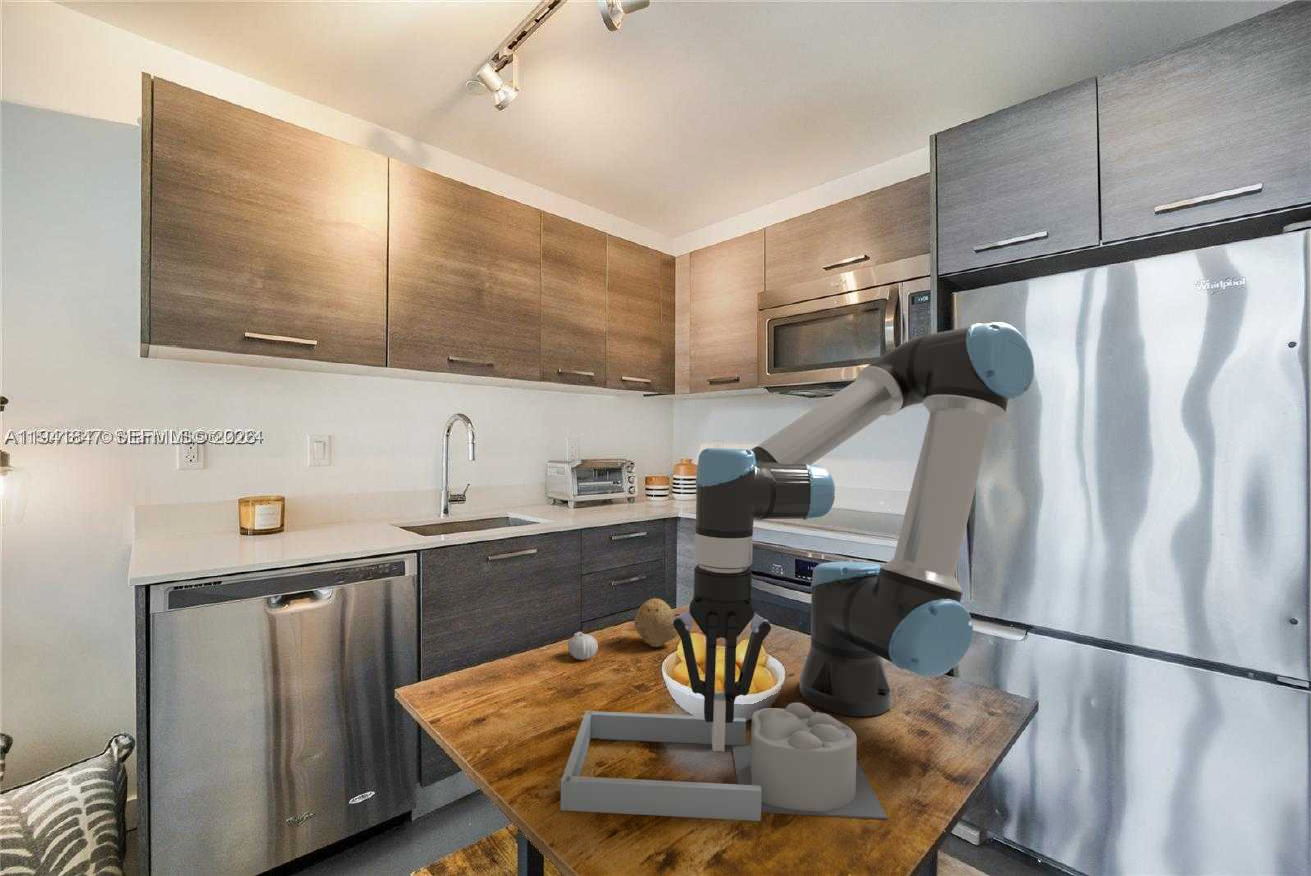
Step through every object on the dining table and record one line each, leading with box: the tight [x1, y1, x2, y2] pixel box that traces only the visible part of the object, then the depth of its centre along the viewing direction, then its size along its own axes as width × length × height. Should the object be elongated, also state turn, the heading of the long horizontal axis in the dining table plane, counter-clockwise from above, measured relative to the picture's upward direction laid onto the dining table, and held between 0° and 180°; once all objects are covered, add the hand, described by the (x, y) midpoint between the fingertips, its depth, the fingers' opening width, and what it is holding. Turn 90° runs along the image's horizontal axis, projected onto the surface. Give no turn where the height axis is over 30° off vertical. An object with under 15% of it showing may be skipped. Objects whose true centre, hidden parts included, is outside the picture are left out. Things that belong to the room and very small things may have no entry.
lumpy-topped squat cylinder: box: [750, 702, 857, 811], centre depth 72 cm, size 10×13×9 cm
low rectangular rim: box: [560, 710, 762, 822], centre depth 75 cm, size 24×17×4 cm
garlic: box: [567, 631, 599, 661], centre depth 113 cm, size 6×5×5 cm
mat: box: [731, 745, 888, 820], centre depth 74 cm, size 17×14×1 cm
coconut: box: [634, 597, 679, 648], centre depth 120 cm, size 9×9×10 cm
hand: (717, 745), depth 74 cm, fingers closed
